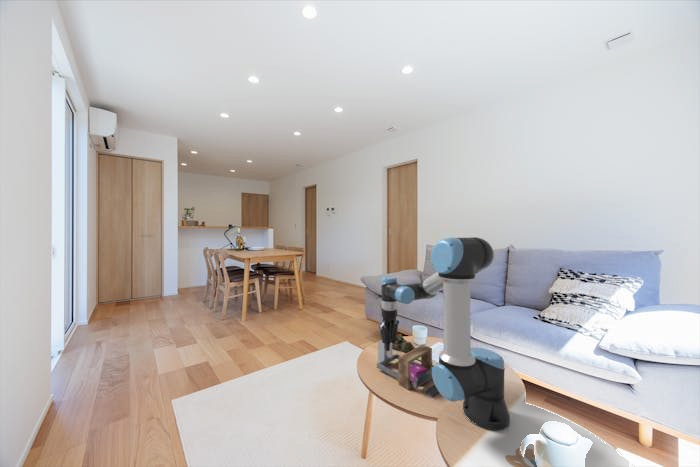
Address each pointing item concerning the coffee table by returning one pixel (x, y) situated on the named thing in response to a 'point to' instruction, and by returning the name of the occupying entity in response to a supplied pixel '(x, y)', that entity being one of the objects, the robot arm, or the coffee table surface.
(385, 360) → the sled
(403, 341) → the rock
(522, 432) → the coffee table surface
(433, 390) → the pit tray
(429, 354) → the tunnel
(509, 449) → the coffee table surface
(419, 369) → the puzzle toy
